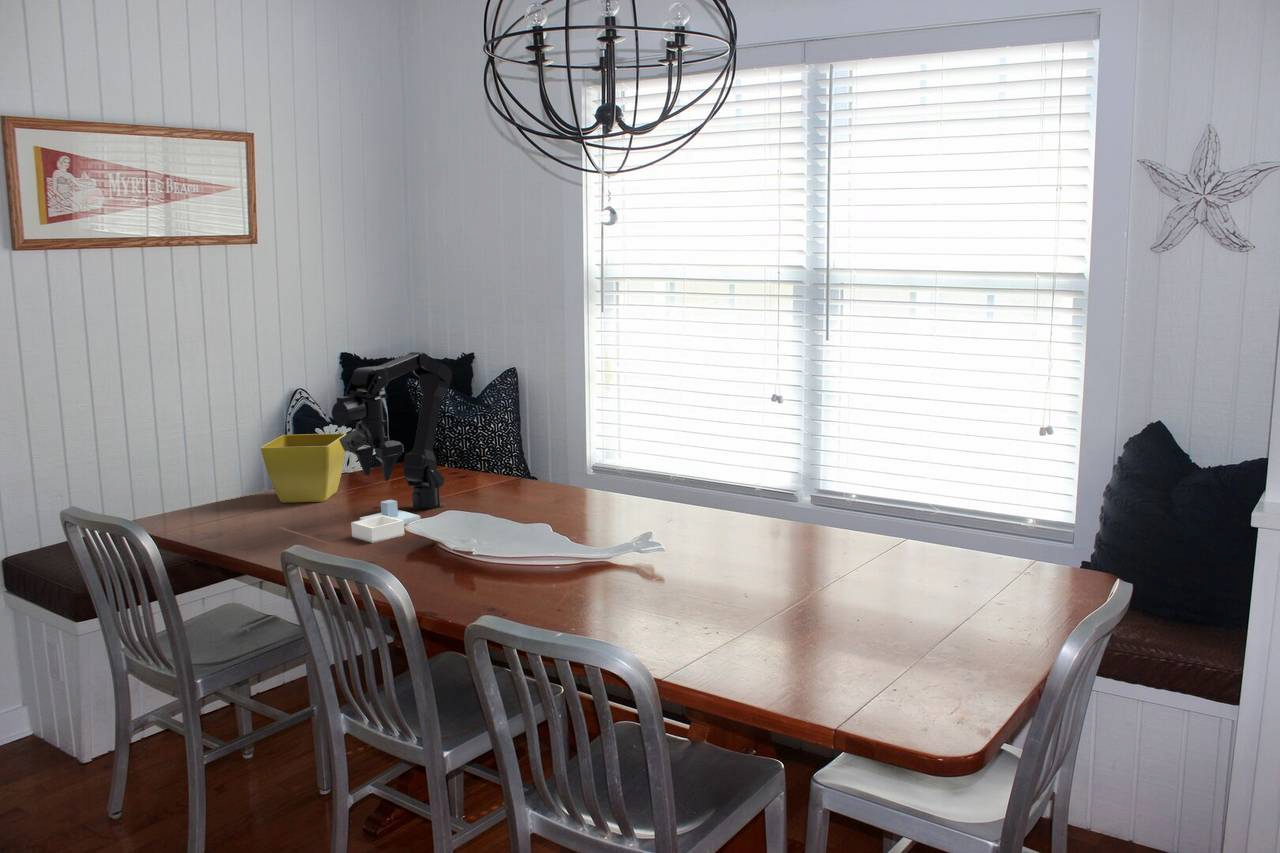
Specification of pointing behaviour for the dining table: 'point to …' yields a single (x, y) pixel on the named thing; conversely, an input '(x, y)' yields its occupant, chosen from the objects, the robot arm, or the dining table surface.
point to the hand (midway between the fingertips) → (376, 478)
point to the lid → (394, 512)
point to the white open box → (377, 528)
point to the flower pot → (304, 466)
